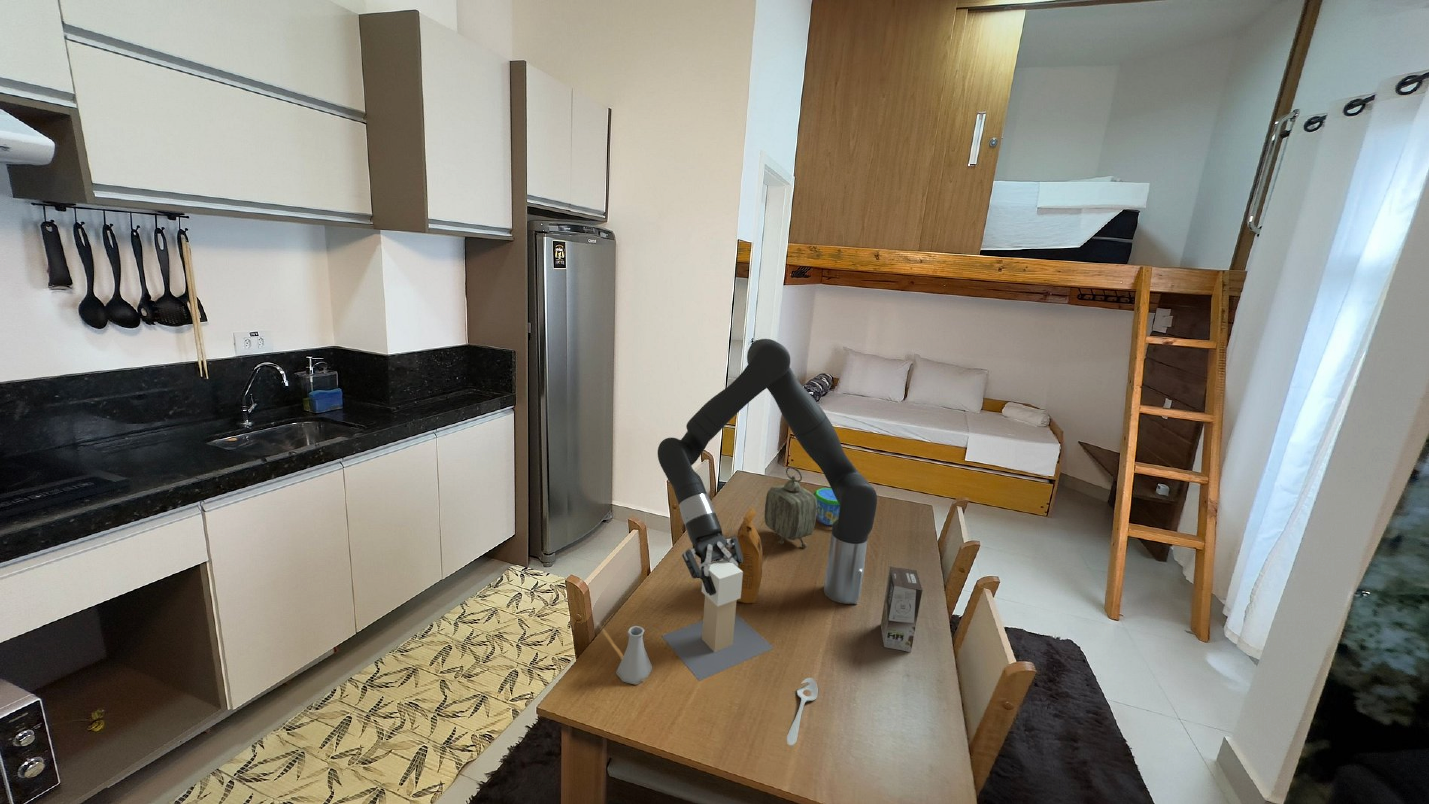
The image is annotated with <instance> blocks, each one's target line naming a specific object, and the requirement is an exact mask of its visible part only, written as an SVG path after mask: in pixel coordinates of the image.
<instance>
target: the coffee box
mask: <svg viewBox="0 0 1429 804" xmlns="http://www.w3.org/2000/svg"><path fill="white" fill-rule="evenodd" d="M888 571H889V572H888V575H887V582H886V589H885V595H884V601H883V602H884V603H883V609H882V613H881V619H880V620H881V621H880V628H881V635H882V642H883V647H884V648H888V649H894V650H898V651H901V652H902V651H903V652H908V653H910V652H912V649H913V643H914V637H915V632H916V626H917V621H918V616H919V611H920V606H921V599H922V595H923V591H924V590H923V588H922V583H921V581H920V578H919V575H918V572H917V569H916V570H915V569H911V568H910V569H909V568H903V567H894V566H889V570H888Z"/></svg>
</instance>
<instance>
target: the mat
mask: <svg viewBox="0 0 1429 804" xmlns="http://www.w3.org/2000/svg"><path fill="white" fill-rule="evenodd" d="M702 631H703V620H701V621H697V622H695V623H693V624H690V625H687V626H685V627H682V628H679V629H676V630H673V631H670V632H667V633H665V634H662V635H661V638H662V639H663V640H664V642H666V644H668V646H669V648H671V650H673V652H674V653H675V655H677V657H678V658H679V659H680V660H681V661H682V663H683V664H684V665H685V666H686V667H687V669H689V671H690V672H691V673H692V674H693V675H694V676H695V678H696V679H697V680H698V681H699V682H700V681H702V680H704V679H707V678H709V677H711V676H713V675H716V674H718V673H721V672H724V671H725V670H728V669H730V668H732V667H735V666H736V665H739V664H741V663H744V662H746V661H748V660H750V659H752V658H756V657H758V656H759V655H762V654H764V653H766V652H769V651H771V650H773V649H774V647H773V646H772V645H771V644H770V643H769V642H768V641H767V640H766V639H765V638H763V636H762V635H760V634H759V633H758V632H757V631H756V630H755V629H754V628H753V627H752V626H751V625H750V624H748V623H747V622H746V620H744V619H743V618H742V617H741V616H739V614H738V613H736V612H735V624H734V635H733V645H731V646H728V647H726V648H724V649H721V650H719V651H716V652H714V651H713V650H712V649H711V648H710V647H709V646H708V645H707V644H706V643H705V642H704V641H703V640H702Z"/></svg>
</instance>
